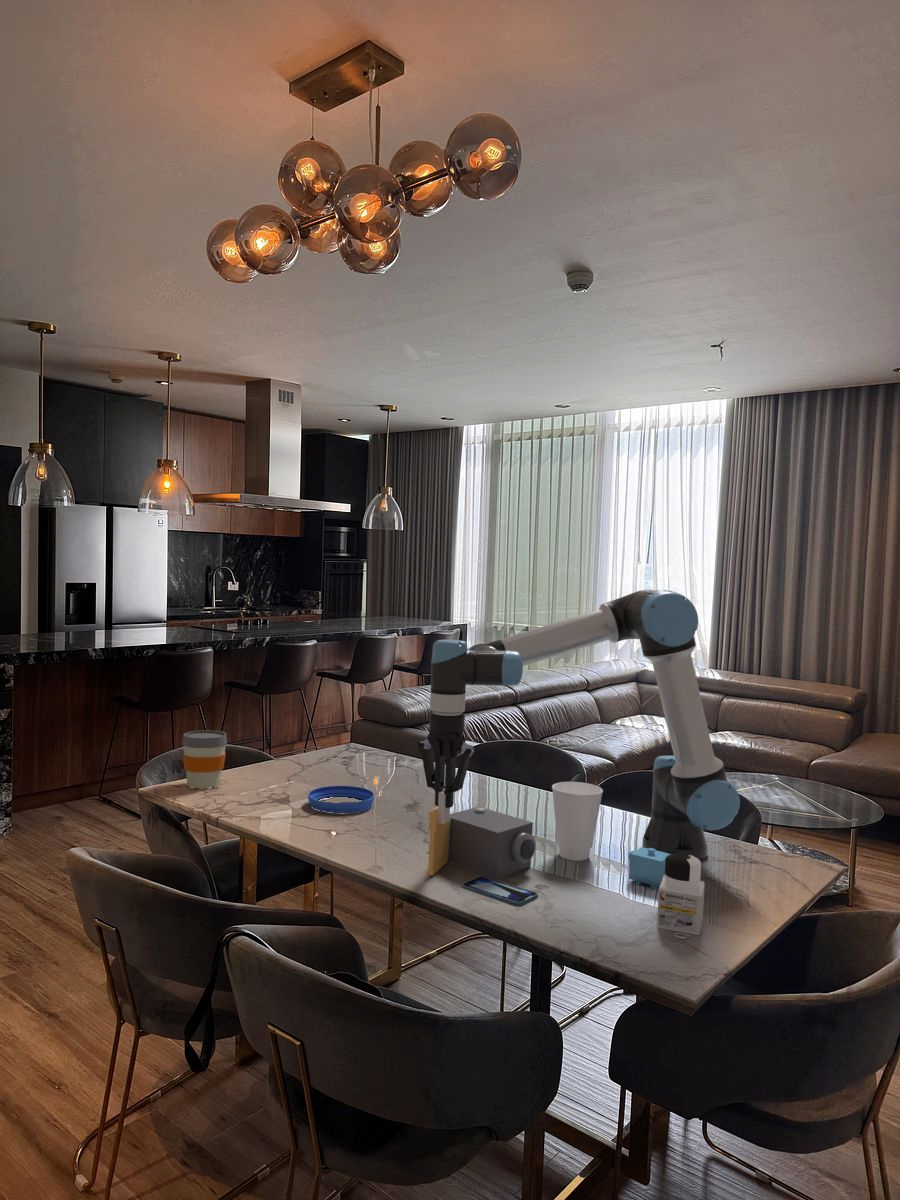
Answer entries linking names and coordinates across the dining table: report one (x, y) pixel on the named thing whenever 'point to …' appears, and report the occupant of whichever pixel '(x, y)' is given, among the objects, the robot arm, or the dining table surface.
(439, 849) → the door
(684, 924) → the container
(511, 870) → the case
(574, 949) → the dining table surface
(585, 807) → the cup
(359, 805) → the blue flat round ring
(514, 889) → the smartphone
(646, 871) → the teapot
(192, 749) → the reusable coffee cup
